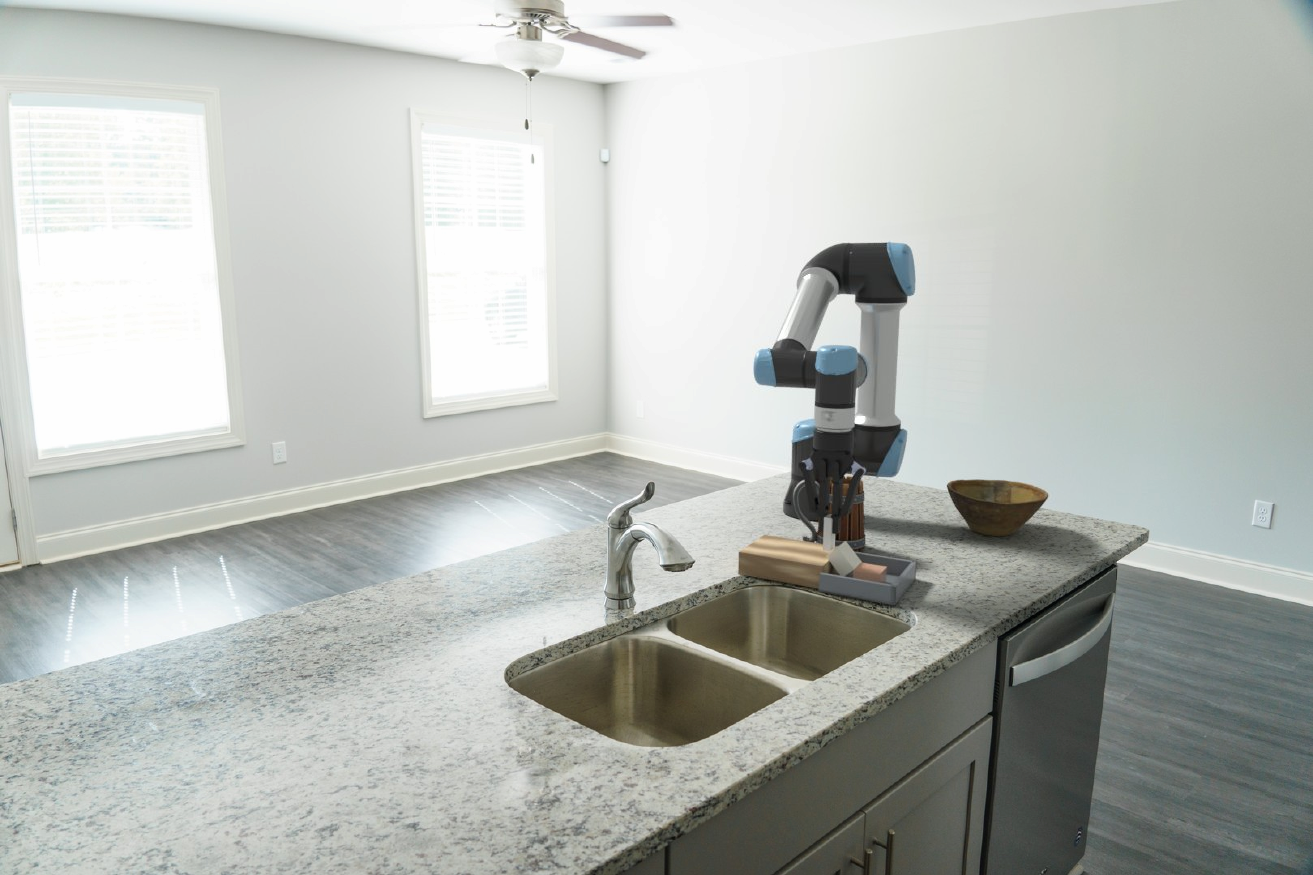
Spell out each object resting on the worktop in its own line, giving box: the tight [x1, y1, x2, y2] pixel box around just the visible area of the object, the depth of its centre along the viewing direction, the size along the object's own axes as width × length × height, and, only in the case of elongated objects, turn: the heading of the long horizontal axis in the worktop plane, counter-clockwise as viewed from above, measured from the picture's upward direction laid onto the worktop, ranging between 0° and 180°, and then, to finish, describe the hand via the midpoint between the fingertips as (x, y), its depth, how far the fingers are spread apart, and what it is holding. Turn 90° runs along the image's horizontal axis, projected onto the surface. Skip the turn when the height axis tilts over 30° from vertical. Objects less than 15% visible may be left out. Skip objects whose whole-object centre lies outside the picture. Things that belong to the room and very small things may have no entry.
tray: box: [818, 551, 918, 606], centre depth 168 cm, size 16×14×4 cm
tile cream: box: [826, 541, 862, 576], centre depth 169 cm, size 5×5×3 cm
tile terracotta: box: [853, 563, 887, 584], centre depth 167 cm, size 5×5×3 cm
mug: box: [793, 475, 866, 553], centre depth 189 cm, size 16×11×15 cm
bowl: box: [946, 479, 1049, 537], centre depth 202 cm, size 22×23×10 cm
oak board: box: [737, 534, 838, 590], centre depth 175 cm, size 13×17×4 cm
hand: (828, 548), depth 171 cm, fingers closed
